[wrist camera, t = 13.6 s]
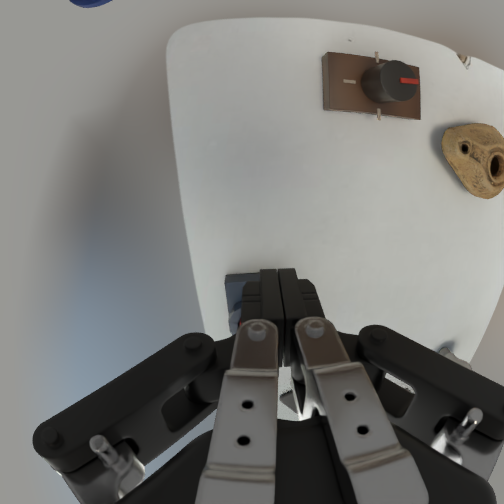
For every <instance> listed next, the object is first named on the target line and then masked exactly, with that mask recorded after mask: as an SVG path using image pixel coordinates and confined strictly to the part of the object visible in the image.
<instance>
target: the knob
mask: <svg viewBox="0 0 504 504" xmlns="http://www.w3.org/2000/svg"><path fill="white" fill-rule="evenodd" d="M418 84H419V83H418V79H416V76H415V74H414V72H413V71H412V69H411V68H410V67H409V66H408V65H406V64H405V63H403V62H401V61H397V60H392V61H388V62H386V63H383V64H380V65H378V66H375V67H373V68H370V69H368V70H367V71H365V72H364V74H363V76H362V79H361V85H362V89H363V91H364V93H365V95H366V96H367V97H368V98H369V99H371V100H372V101H374V102H377V103H388V102H400V101H407V100H410V99H411V98H412V97H413V96H414V95H415V93H416V91H417V85H418Z"/></svg>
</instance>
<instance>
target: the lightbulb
mask: <svg viewBox="0 0 504 504" xmlns="http://www.w3.org/2000/svg"><path fill="white" fill-rule="evenodd" d="M439 354H440V355H442V356H444V357H446V358H448V359H450V360H452V361H454V362H456V363H458V364H460V365H462V366H464V367H466V368H468V369H470V370H472V368H471V366H470V364H469V363H467V362H466V361H464V360H460V359H458V358H457V357H456V356H455V355H454V354H453V353H451V352H450V350H449V349H448V348H443V349H441V350H440V352H439Z"/></svg>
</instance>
